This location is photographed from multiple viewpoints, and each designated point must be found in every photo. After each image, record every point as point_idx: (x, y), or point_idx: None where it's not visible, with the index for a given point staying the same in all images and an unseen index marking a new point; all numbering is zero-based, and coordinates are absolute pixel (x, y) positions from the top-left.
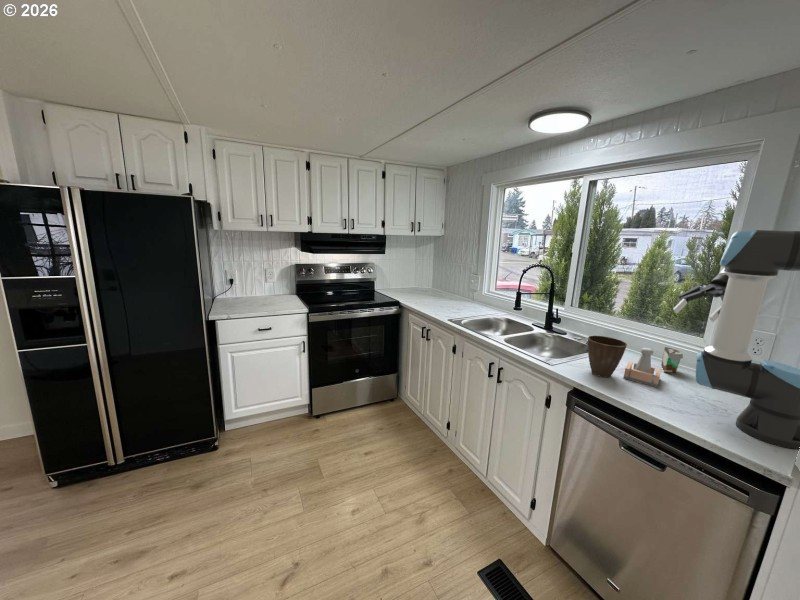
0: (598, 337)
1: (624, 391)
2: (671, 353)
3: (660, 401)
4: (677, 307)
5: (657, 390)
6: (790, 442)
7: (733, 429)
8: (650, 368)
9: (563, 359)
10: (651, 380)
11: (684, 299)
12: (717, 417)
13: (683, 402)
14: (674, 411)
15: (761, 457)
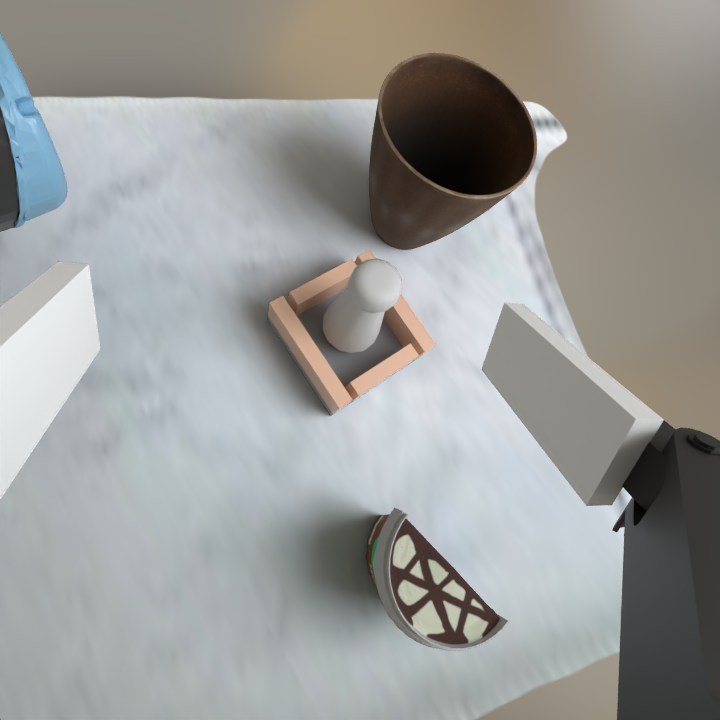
0: (527, 162)
1: (267, 170)
2: (424, 564)
3: (177, 213)
4: (520, 331)
5: (246, 292)
6: None
7: None
8: (332, 324)
9: (529, 206)
10: (288, 301)
11: (625, 408)
12: (24, 284)
13: (145, 286)
14: (110, 185)
15: None
